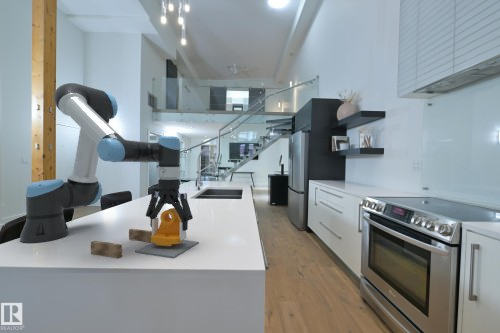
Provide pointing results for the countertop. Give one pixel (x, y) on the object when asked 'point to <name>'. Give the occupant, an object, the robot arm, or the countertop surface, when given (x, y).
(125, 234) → the countertop surface
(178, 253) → the mat
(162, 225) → the bracket
